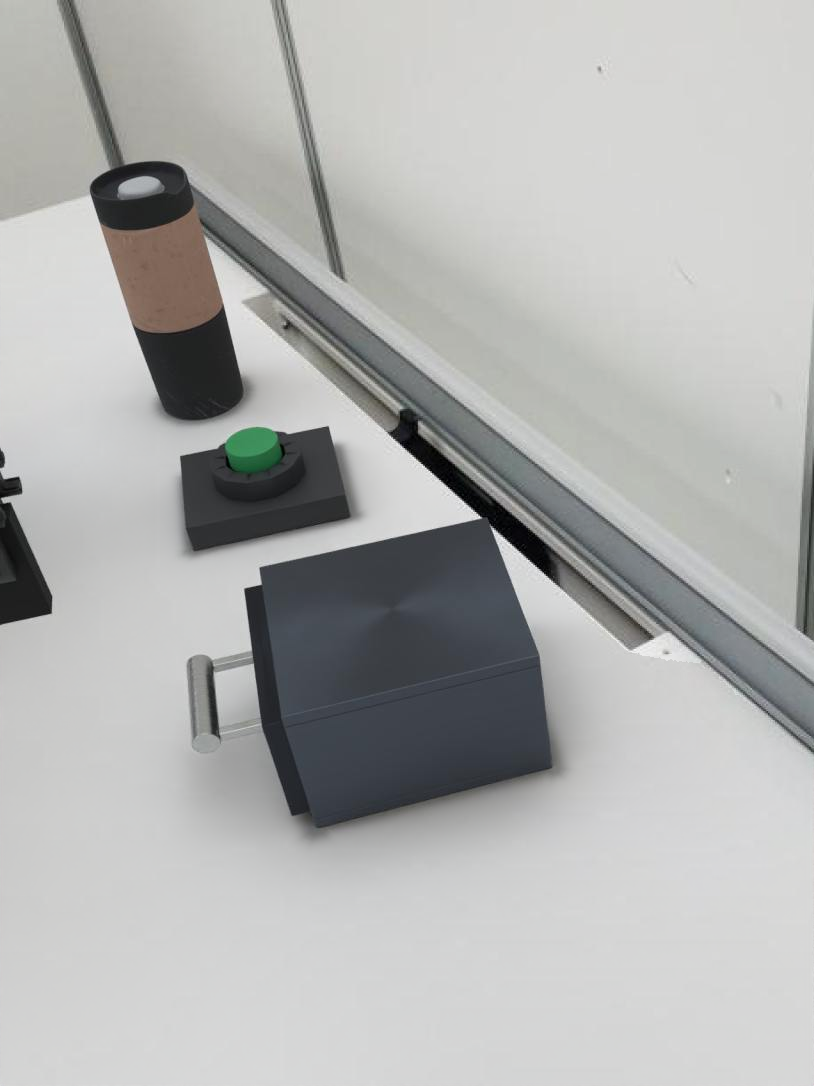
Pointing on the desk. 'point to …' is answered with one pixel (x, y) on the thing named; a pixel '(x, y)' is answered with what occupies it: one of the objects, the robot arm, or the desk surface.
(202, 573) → the desk surface
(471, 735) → the cabinet
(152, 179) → the travel mug
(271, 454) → the button
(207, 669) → the drawer
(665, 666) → the desk surface
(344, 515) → the panel
